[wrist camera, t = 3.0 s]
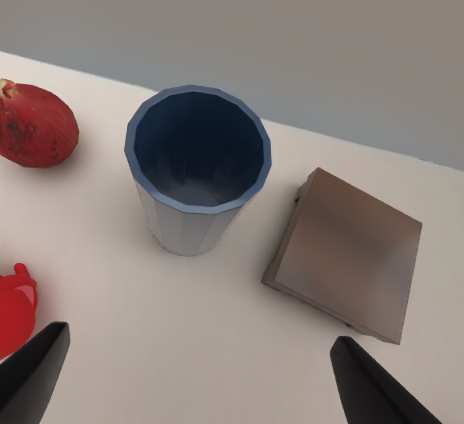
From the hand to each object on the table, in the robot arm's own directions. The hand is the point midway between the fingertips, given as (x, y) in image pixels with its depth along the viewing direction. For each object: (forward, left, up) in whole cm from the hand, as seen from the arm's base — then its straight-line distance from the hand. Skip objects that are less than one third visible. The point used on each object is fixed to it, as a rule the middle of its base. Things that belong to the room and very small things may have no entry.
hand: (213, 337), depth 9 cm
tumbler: (+3, +8, -14) cm, 16 cm away
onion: (-6, +17, -14) cm, 23 cm away
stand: (+14, 0, -14) cm, 20 cm away
